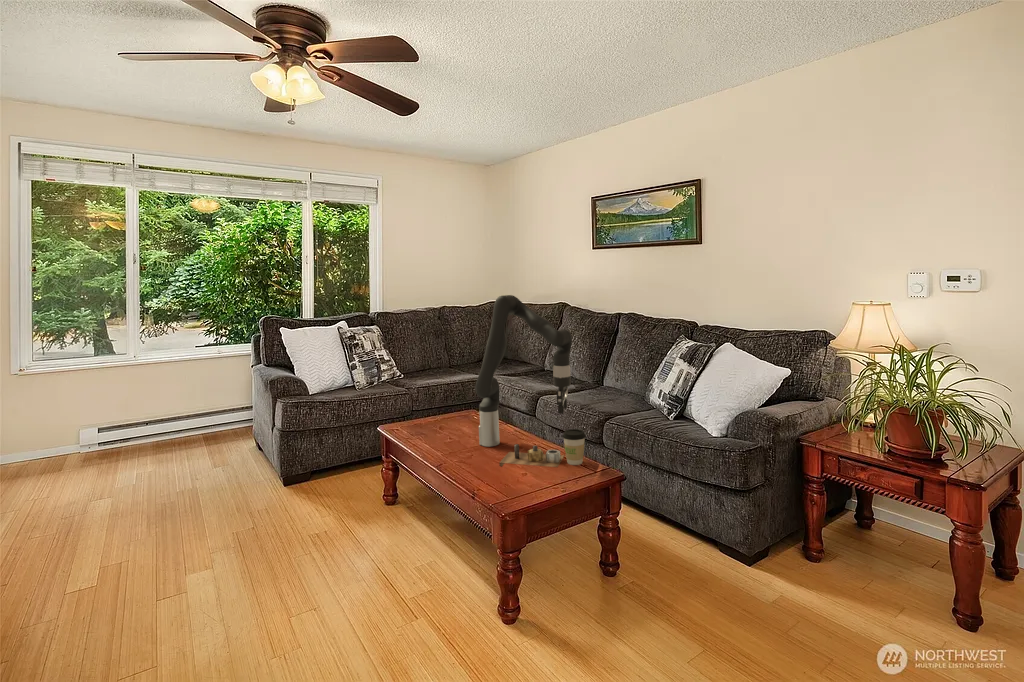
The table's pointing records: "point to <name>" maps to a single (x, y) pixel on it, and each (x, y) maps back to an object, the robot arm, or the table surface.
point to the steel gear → (553, 456)
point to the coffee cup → (574, 446)
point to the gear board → (528, 458)
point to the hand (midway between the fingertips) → (562, 410)
